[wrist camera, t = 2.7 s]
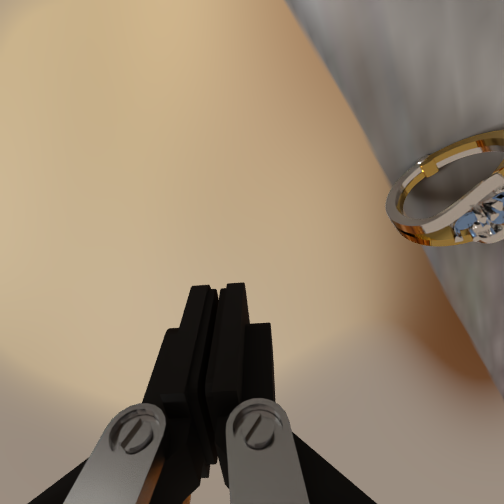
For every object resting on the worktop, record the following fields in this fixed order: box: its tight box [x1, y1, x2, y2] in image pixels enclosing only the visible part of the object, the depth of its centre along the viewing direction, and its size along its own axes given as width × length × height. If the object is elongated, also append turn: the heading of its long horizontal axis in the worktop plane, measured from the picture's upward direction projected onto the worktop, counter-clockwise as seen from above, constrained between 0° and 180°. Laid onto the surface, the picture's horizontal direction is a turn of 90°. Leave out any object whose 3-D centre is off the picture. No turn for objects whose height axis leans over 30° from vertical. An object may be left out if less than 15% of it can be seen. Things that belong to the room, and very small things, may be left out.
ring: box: [386, 130, 504, 246], centre depth 17 cm, size 7×3×8 cm, turn 127°
